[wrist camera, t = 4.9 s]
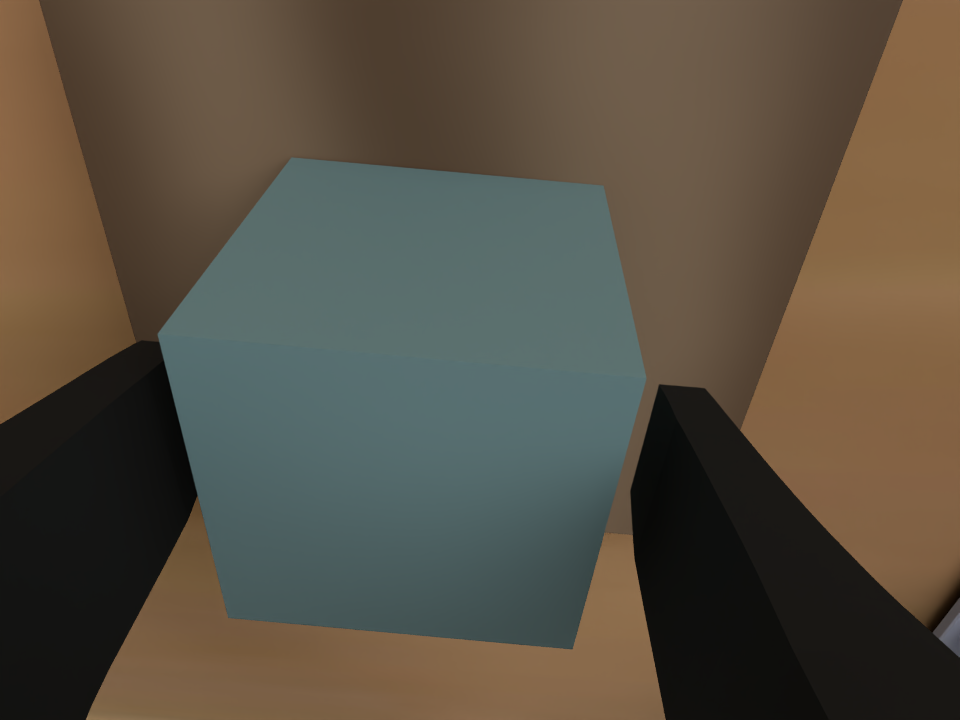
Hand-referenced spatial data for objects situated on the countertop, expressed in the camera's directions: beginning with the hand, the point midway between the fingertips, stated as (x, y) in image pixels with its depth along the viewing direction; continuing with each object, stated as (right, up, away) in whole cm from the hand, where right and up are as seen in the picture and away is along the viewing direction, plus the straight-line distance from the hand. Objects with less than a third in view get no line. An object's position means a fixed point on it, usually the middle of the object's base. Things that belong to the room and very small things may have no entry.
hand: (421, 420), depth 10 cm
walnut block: (0, +4, +6) cm, 8 cm away
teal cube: (0, +2, +3) cm, 4 cm away
